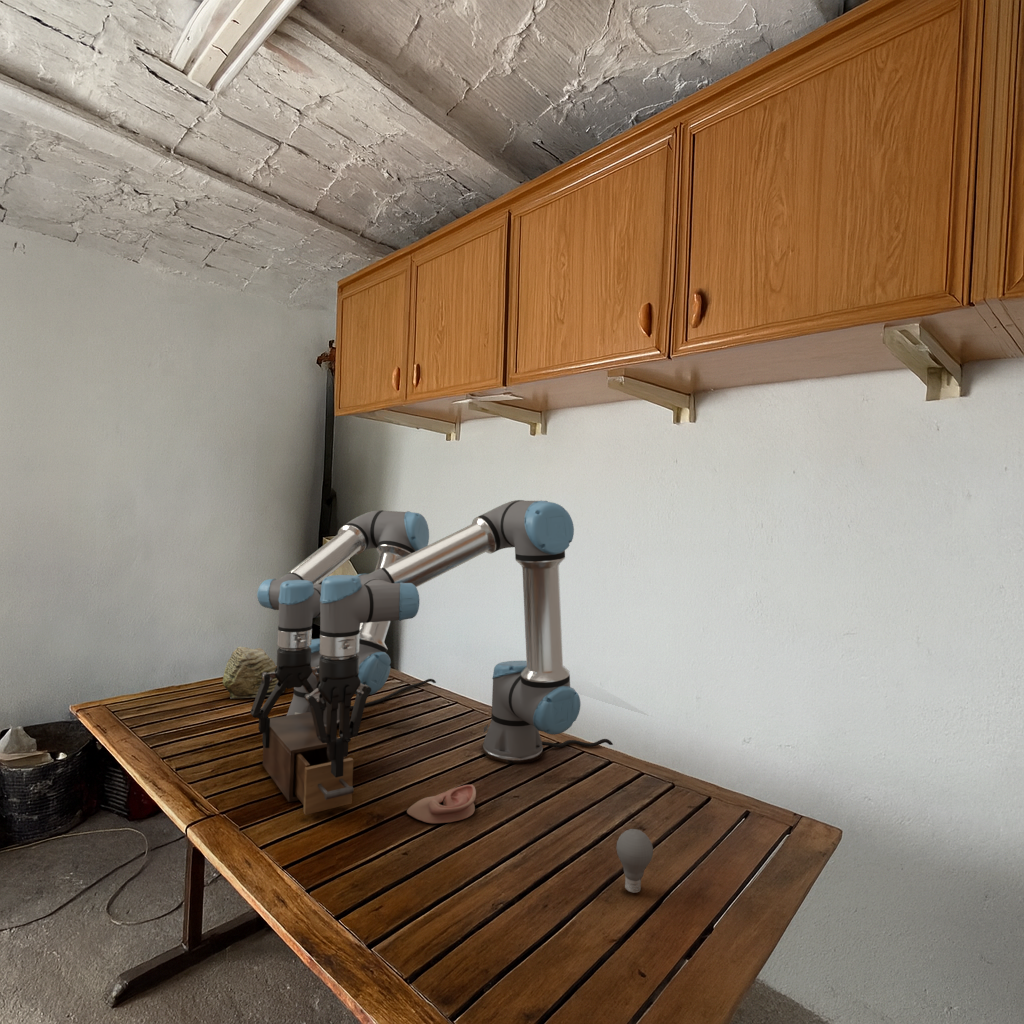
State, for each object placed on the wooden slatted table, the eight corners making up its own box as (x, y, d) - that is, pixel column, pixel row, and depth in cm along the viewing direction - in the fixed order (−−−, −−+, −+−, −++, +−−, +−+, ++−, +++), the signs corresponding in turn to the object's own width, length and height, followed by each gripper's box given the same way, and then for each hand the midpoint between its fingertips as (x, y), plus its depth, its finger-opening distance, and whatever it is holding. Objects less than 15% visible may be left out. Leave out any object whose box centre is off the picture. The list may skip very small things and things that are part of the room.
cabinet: (339, 790, 137) (341, 740, 137) (288, 802, 131) (290, 750, 130) (308, 756, 154) (309, 711, 154) (262, 765, 148) (263, 719, 148)
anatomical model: (401, 799, 125) (421, 775, 137) (400, 819, 126) (420, 793, 137) (466, 808, 123) (481, 783, 134) (465, 829, 123) (480, 802, 134)
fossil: (218, 695, 195) (220, 647, 195) (278, 685, 208) (279, 640, 207) (228, 703, 189) (230, 653, 188) (289, 692, 201) (290, 645, 201)
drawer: (362, 815, 125) (364, 770, 125) (314, 828, 119) (316, 781, 119) (319, 767, 146) (320, 728, 146) (276, 776, 140) (278, 736, 140)
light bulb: (610, 879, 108) (613, 822, 108) (644, 879, 109) (647, 822, 109) (619, 902, 102) (622, 840, 102) (655, 901, 103) (658, 840, 103)
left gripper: (245, 656, 138) (242, 756, 138) (348, 645, 151) (345, 737, 152) (237, 648, 144) (234, 745, 144) (337, 639, 157) (334, 727, 158)
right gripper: (312, 663, 117) (310, 789, 118) (378, 655, 124) (375, 773, 125) (299, 654, 123) (297, 774, 124) (363, 646, 131) (361, 759, 131)
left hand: (291, 741), depth 148 cm, fingers closed on cabinet, 11 cm apart
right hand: (337, 774), depth 124 cm, fingers closed
